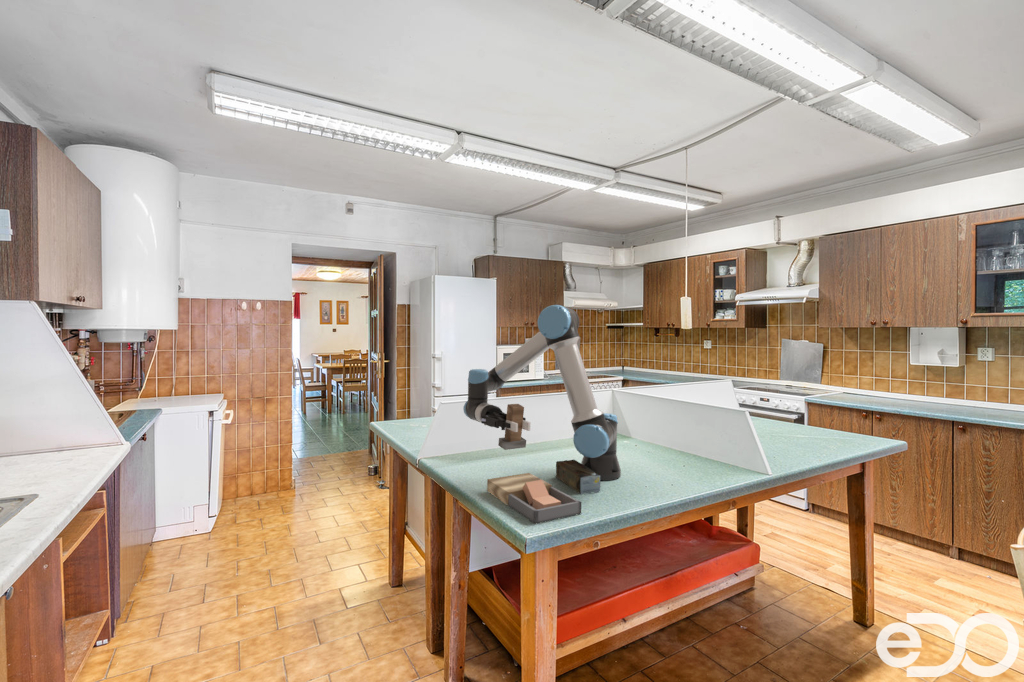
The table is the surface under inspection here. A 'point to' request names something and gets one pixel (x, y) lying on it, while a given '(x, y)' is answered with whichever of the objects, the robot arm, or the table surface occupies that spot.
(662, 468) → the table surface
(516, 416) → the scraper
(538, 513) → the tray
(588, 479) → the beverage carton
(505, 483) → the board
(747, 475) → the table surface
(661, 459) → the table surface
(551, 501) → the tile front
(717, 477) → the table surface
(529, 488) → the tile rear
